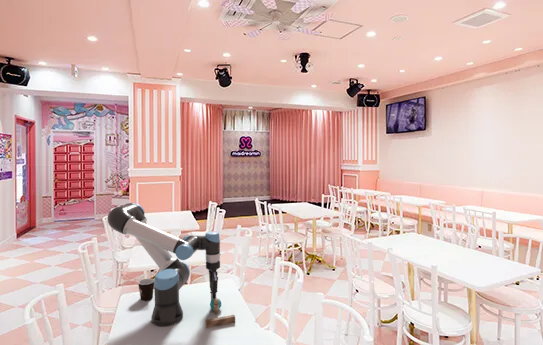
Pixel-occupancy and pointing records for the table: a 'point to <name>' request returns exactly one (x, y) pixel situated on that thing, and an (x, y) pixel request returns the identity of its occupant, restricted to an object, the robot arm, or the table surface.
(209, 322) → the back wall
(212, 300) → the ball
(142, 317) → the table surface
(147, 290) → the coffee mug
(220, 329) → the table surface
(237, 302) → the table surface
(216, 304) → the pin
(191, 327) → the table surface
